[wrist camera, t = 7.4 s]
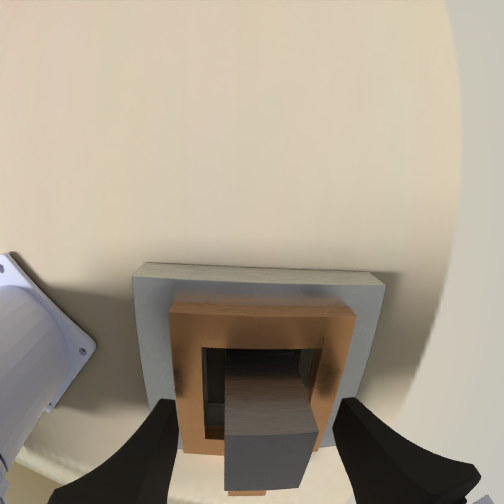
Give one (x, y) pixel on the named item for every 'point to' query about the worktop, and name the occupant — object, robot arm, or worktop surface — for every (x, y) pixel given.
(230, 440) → the dark grey rectangular block
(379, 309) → the grey and brown socket
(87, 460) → the worktop surface
